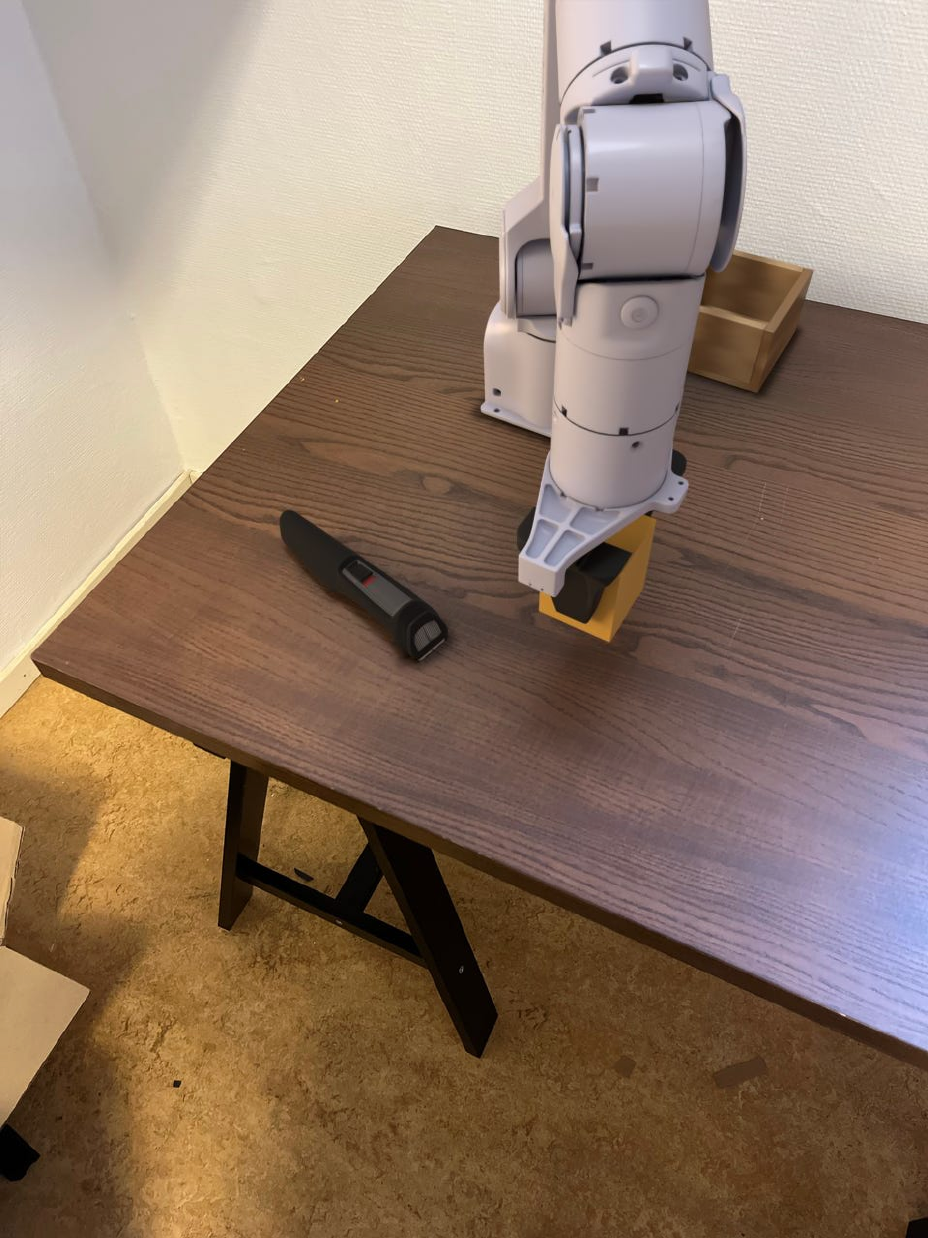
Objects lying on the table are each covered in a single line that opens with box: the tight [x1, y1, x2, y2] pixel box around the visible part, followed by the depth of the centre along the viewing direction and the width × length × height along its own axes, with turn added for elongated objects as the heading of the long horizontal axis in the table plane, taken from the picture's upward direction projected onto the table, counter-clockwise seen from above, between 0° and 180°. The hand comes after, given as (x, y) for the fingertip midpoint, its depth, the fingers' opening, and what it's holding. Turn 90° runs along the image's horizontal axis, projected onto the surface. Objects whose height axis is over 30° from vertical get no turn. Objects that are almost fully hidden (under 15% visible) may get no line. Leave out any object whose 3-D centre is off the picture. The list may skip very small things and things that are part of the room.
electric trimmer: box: [279, 509, 449, 662], centre depth 61 cm, size 4×16×3 cm, turn 45°
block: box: [538, 515, 658, 643], centre depth 49 cm, size 5×5×6 cm
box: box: [687, 248, 814, 394], centre depth 75 cm, size 10×10×6 cm
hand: (593, 582), depth 50 cm, fingers closed on block, 4 cm apart
